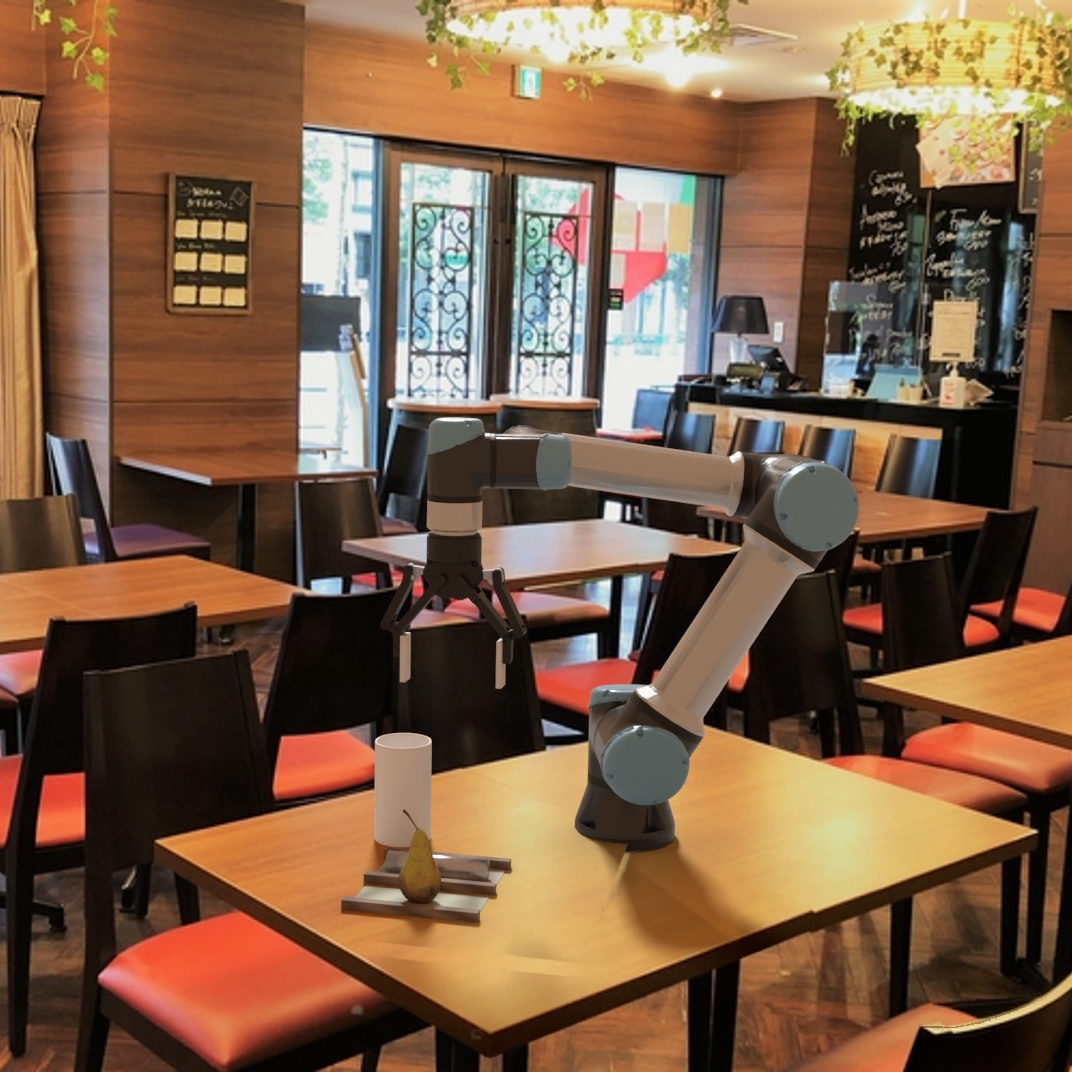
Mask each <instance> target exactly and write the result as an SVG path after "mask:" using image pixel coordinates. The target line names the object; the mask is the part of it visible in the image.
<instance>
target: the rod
mask: <svg viewBox="0 0 1072 1072" xmlns="http://www.w3.org/2000/svg"><path fill="white" fill-rule="evenodd" d="M408 854H409V852H402V851H391V850H389V851H388V852H387V854H386V858H385V859H384V863H385V871H386V873H396V874H400V871H401V869H402V867H403V865H404V863H405V861H406V859H407V856H408ZM433 858H434V860H435V864H436V866H437V868H438V870H439V872H440V875H441V878H450V879H460V880H471V881H482V882H487V881H488V879H489V874H490V860H489V859H480V858H468V857H457V856H446V855H435V854H433Z"/></svg>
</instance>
